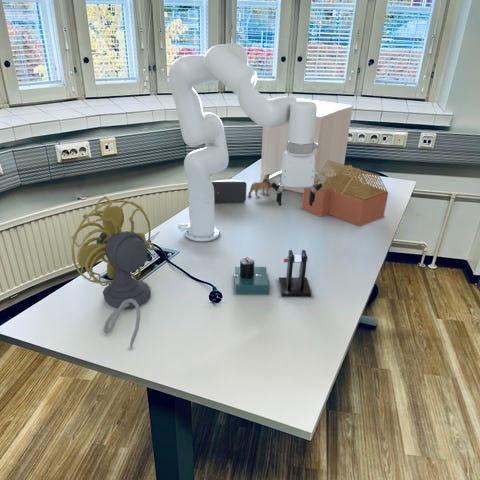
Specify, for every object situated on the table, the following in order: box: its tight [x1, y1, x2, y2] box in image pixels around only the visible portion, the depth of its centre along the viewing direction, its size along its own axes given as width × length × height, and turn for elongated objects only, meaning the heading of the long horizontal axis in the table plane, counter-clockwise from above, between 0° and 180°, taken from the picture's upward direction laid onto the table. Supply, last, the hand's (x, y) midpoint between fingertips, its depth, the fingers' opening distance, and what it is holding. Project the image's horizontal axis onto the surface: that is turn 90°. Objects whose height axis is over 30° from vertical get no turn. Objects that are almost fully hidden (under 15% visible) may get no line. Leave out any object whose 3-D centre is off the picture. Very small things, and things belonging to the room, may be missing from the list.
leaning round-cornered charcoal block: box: [211, 179, 247, 204], centre depth 205 cm, size 16×5×9 cm, turn 96°
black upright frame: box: [278, 249, 312, 298], centre depth 142 cm, size 10×9×12 cm
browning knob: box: [239, 256, 255, 279], centre depth 144 cm, size 4×4×5 cm
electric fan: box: [71, 195, 155, 349], centre depth 125 cm, size 26×32×30 cm
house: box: [301, 160, 389, 227], centre depth 194 cm, size 28×23×19 cm
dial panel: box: [233, 266, 270, 295], centre depth 146 cm, size 11×12×3 cm
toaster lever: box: [283, 253, 302, 264], centre depth 144 cm, size 12×6×2 cm, turn 1°
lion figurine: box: [247, 174, 272, 199], centre depth 212 cm, size 15×5×9 cm, turn 137°
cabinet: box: [259, 98, 354, 194], centre depth 225 cm, size 35×29×34 cm
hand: (294, 204), depth 144 cm, fingers open, 9 cm apart
